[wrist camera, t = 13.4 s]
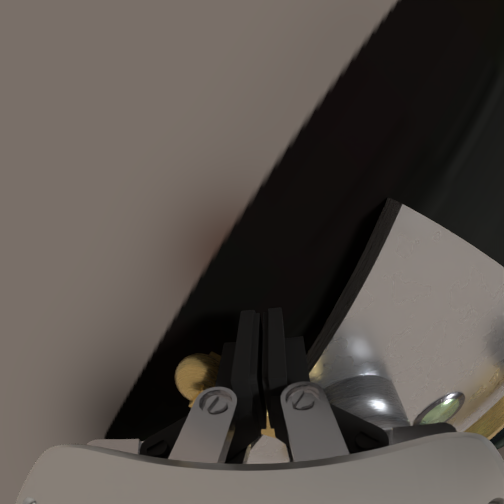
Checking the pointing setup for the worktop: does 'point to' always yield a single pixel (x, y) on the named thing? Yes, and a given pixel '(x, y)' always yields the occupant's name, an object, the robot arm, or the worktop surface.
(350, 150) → the worktop surface
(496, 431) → the knob
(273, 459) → the plate
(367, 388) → the knob
